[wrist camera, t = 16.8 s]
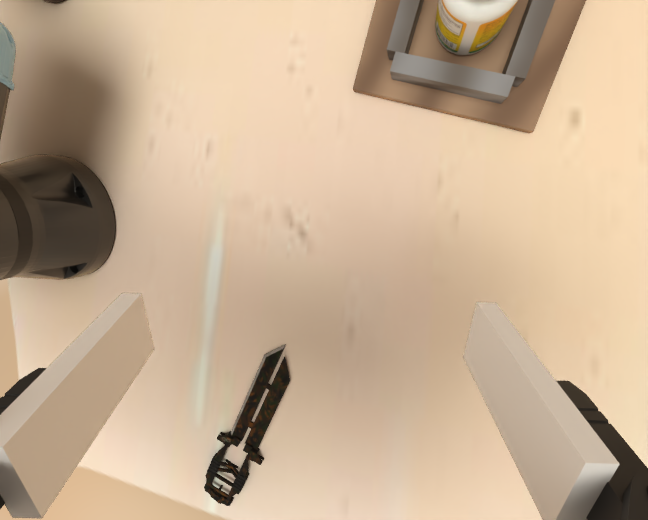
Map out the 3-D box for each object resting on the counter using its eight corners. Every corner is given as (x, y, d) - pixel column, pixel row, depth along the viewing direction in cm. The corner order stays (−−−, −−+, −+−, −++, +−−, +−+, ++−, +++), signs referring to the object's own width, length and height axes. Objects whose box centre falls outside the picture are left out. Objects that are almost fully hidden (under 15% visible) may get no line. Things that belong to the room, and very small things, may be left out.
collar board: (354, 91, 34) (347, 81, 31) (400, -83, 30) (398, -116, 27) (529, 133, 31) (543, 126, 28) (604, -54, 27) (630, -87, 24)
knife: (276, 335, 42) (271, 340, 41) (323, 366, 41) (320, 372, 40) (196, 476, 49) (190, 484, 48) (234, 504, 49) (229, 513, 47)
